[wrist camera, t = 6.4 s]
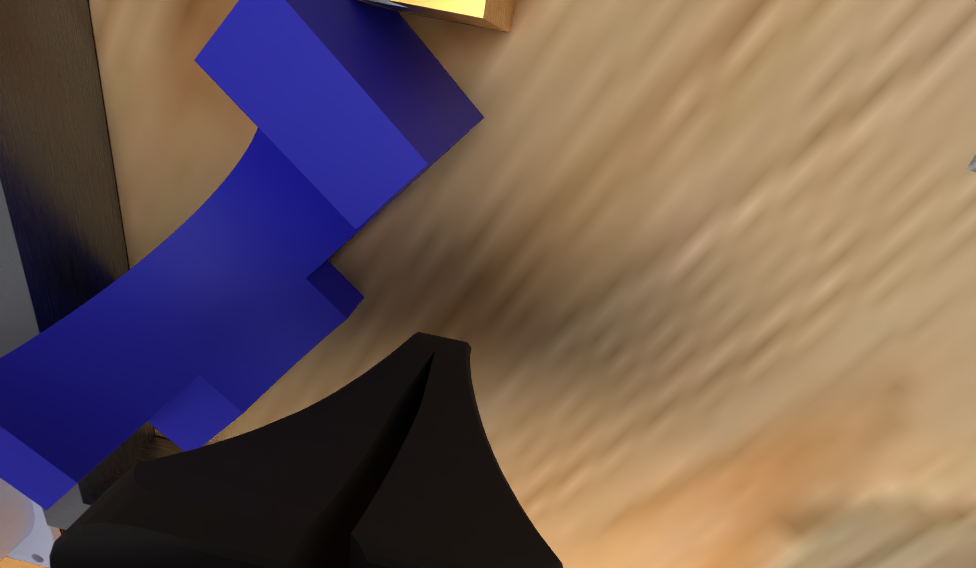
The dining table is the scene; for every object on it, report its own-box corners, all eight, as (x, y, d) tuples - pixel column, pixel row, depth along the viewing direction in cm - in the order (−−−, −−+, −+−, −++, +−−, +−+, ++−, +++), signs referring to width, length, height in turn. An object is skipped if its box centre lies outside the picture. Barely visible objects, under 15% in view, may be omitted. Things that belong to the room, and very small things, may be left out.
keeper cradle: (121, 457, 19) (0, 568, 15) (3, -142, 11) (-322, -259, 7) (424, 528, 18) (385, 664, 14) (523, -46, 10) (502, -111, 6)
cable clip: (249, 391, 17) (102, 550, 11) (140, 296, 16) (-78, 422, 10) (523, 164, 13) (499, 245, 7) (400, 12, 11) (261, -28, 6)
